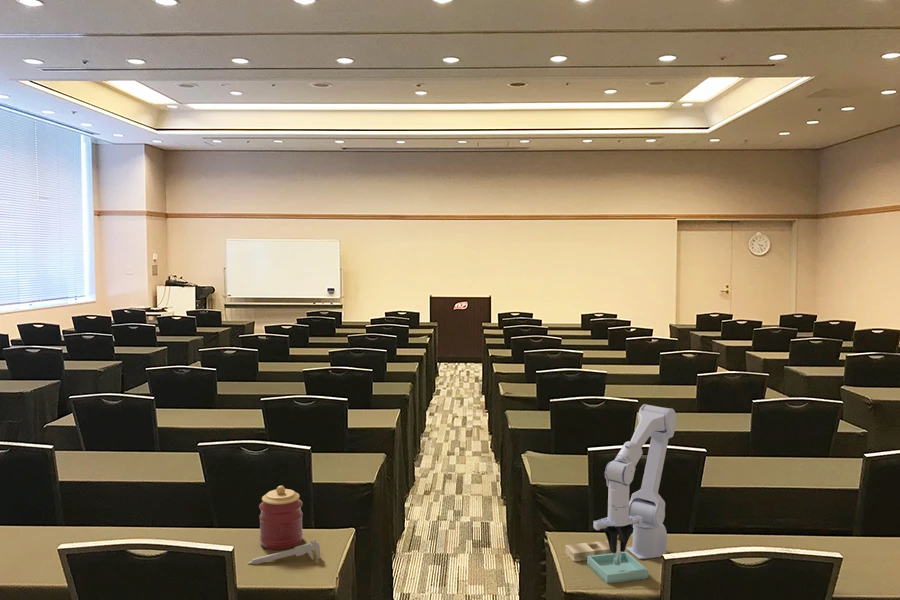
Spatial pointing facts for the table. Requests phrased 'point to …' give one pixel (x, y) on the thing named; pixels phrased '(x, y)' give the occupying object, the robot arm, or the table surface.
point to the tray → (617, 568)
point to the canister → (281, 519)
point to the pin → (617, 553)
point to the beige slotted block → (587, 550)
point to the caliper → (290, 553)
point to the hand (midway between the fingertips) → (617, 551)
